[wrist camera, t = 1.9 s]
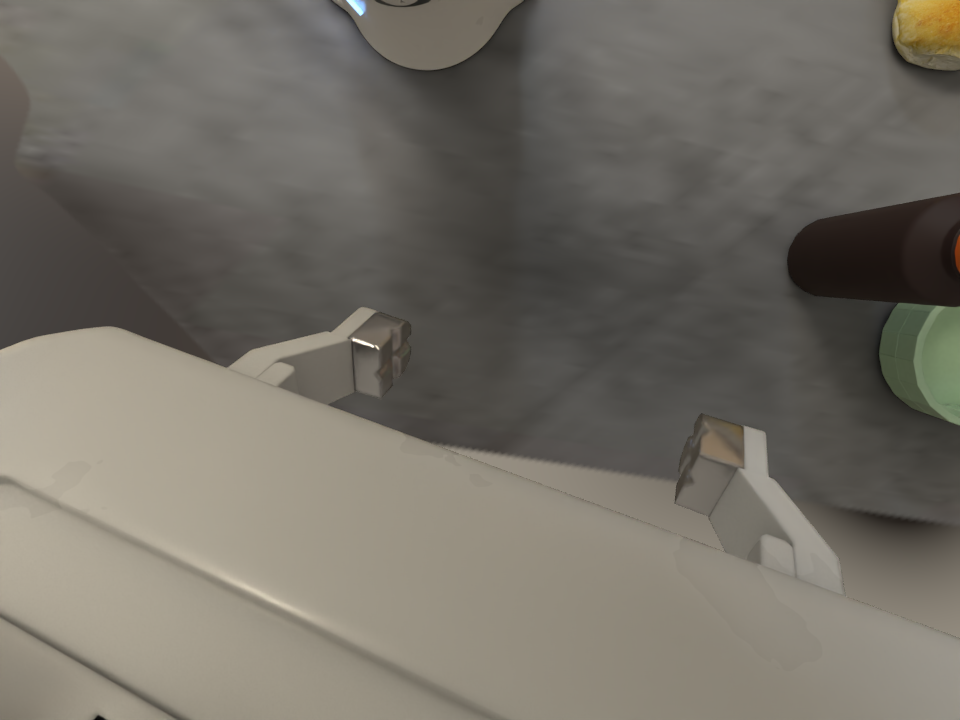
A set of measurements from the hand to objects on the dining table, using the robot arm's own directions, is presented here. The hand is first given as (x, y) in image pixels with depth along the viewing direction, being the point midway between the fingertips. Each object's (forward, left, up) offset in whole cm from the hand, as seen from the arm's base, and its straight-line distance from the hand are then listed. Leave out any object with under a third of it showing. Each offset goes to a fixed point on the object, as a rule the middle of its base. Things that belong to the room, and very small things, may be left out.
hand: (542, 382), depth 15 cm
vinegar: (-5, +25, -36) cm, 44 cm away
